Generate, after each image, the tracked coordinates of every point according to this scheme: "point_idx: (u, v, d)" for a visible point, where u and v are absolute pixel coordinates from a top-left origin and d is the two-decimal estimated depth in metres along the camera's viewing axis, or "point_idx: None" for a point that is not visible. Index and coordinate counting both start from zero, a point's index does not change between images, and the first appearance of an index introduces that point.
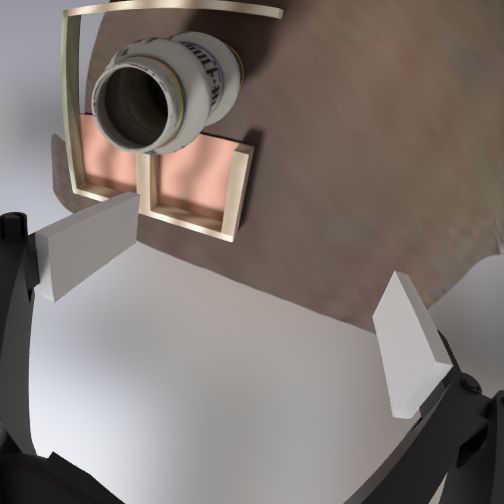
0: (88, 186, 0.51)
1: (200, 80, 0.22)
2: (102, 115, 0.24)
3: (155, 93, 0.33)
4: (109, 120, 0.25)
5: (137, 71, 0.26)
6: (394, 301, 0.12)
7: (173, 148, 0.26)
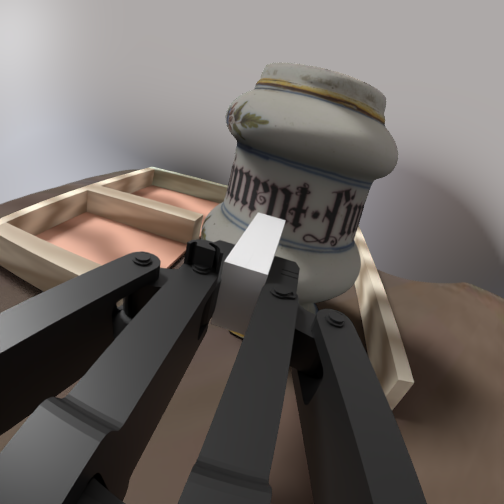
0: (147, 180, 0.46)
1: (363, 132, 0.14)
2: None
3: None
4: None
5: None
6: None
7: (248, 95, 0.16)
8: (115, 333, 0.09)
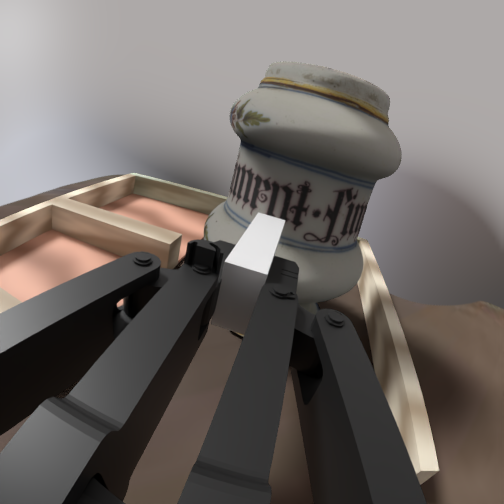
0: (127, 188, 0.40)
1: (364, 131, 0.14)
2: None
3: None
4: None
5: None
6: None
7: (251, 93, 0.16)
8: (115, 333, 0.09)
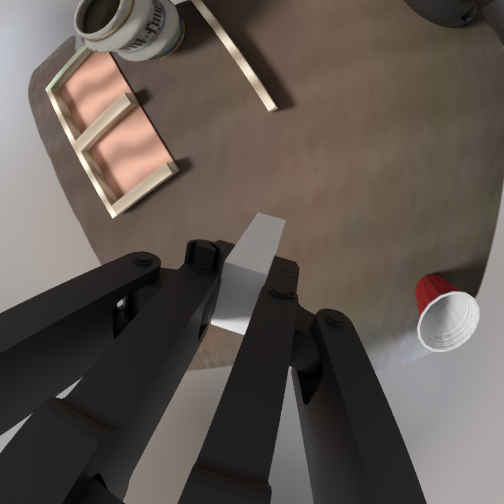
0: (58, 95, 0.47)
1: (135, 26, 0.28)
2: (88, 0, 0.25)
3: None
4: (87, 5, 0.26)
5: None
6: None
7: (91, 46, 0.29)
8: (115, 333, 0.09)
